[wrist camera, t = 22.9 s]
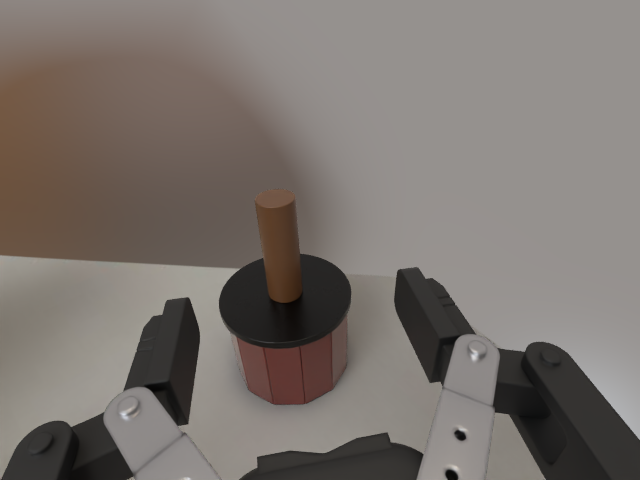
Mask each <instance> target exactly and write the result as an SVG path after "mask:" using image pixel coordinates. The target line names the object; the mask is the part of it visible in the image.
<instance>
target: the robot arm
mask: <svg viewBox="0 0 640 480" xmlns="http://www.w3.org/2000/svg"><path fill="white" fill-rule="evenodd" d="M394 303H395V309H396V312H397V315H398V317H399V319H400V321H401V323H402V325H403V327H404V329H405V331H406V334H407V336H408V338H409V340H410V342H411V344H412V346H413V348H414V350H415V352H416V355H417V357H418V359H419V361H420V363H421V365H422V367H423V369H424V371H425V373H426V376H427V378H428V380H429V382H430V383H434V382H439V381H440V382H441V384H442V386H443V387H442V391H441V394H440V398H439V401H438V405H437V408H436V412H435V416H434V419H433V423H432V426H431V430H430V434H429V437H428V441H427V444H426V448H425V451H424V454H422V453H421V452H419V451H417V450H415V449H413V448H411V447H408V446H406V445H402V444H398V443H391V442H390V439H389V435H388V432H387V433H382V434H377V435H371V436H366V437H361V438H356V439H354V440H352V441H350V442H348V443H346V444H344V445H342V446H340V447H338V448H336V449H334V450H332V451H330V452H327V453H312V452H300V451H286V452H281V453H275V454H270V455H265V456H260V457H257V467H258V468H256V469H254V470H252V471H250V472H249V473H247V474H246V475H244V476H243V477H242V478H240V479H239V480H486V473H487V465H488V458H489V451H490V444H491V437H492V429H493V422H494V415H495V412H497V413H504V414H509V415H510V417H511V419H512V420H513V422H514V424H515V426H516V427H517V429H518V431H519V433H520V435H521V436H522V438H523V440H524V442H525V443H526V445H527V447H528V449H529V451H530V452H531V454H532V456H533V458H534V459H535V461H536V463H537V465H538V466H539V468H540V470H541V472H542V474H543V475H544V477H545V479H546V480H640V440H639V439H638V438H637V436H636V435H635V434H634V433H633V432H632V430H631V429H630V428H629V427H628V426H627V424H626V423H625V422H624V421H623V419H622V418H621V417H620V416H619V415H618V413H617V412H616V411H615V410H614V409H613V407H612V406H611V405H610V404H609V403H608V401H607V400H606V399H605V398H604V396H603V395H602V394H601V393H600V392H599V391H598V390H597V388H596V387H595V386H594V384H593V383H592V382H591V381H590V380H589V378H588V377H587V376H586V375H585V374H584V372H583V371H582V370H581V369H580V368H579V366H578V365H577V364H576V363H575V362H574V360H573V359H572V358H571V357H570V355H569V354H568V353H566V352H565V351H564V350H562V349H561V348H559V347H557V346H555V345H553V344H550V343H545V342H534V343H531V344H530V345H528V347H527V348H526V351H525V352H521V351H513V350H505V349H499V348H497V347H496V346H495V345H494V344H493V343H492V342H491V341H490V340H488V339H486V338H485V337H482V336H479V335H476V333H475V332H474V331H473V329H472V328H471V326H470V325H469V323H468V322H467V320H466V319H465V317H464V316H463V315H462V313H461V312H460V310H459V309H458V307H457V306H456V305H455V303H454V301H453V300H452V298H450V295H449V294H448V293H447V291H446V290H445V288H444V287H443V286H442V285H441V284H440V283H438V282H437V281H435V280H434V279H433V278H430V279H425V277H424V276H423V274H422V273H421V271H420V270H419V268H417V267H414V268H407V269H400V270H398V272H397V277H396V287H395V297H394ZM199 344H200V332H199V326H198V323H197V320H196V317H195V314H194V310H193V307H192V304H191V301H190V299H189V298H188V297H187V298H179V299H172V300H167V301H166V303H165V307H164V311H163V314H162V315H159V316H153V317H152V318H151V319H150V321H149V322H148V323H147V324H146V326H145V327H144V328H143V332H142V335H141V338H140V342H139V344H138V347H137V352H136V353H135V357H134V360H133V363H132V366H131V369H130V372H129V375H128V379H127V382H126V385H125V388H124V391H123V392H122V393H120V394H119V395H117V396H116V397H115V398H114V399H113V400H112V401H111V402H110V403H109V405H108V406H107V408H106V410H105V412H103V413H102V414H100V415H98V416H96V417H94V418H91V419H89V420H87V421H85V422H82V423H80V424H78V425H75V426H73V427H70V425H69V424H68V423H66V422H64V421H52V422H48V423H46V424H43V425H41V426H39V427H37V428H36V429H34V430H33V431H31V432H30V433H29V434H28V435H27V436H26V437H24V438H23V440H22V441H21V442H20V443H19V444H18V446H17V447H16V449H15V451H14V453H13V455H12V457H11V459H10V462H9V464H8V466H7V468H6V470H5V473H4V475H3V477H2V479H1V480H127V479H129V478H131V477H133V476H134V478H135V480H222V479H221V478H220V476H219V475H218V474H217V473H216V471H215V470H214V469H213V467H212V466H211V465H210V463H209V462H208V461H207V459H206V458H205V457H204V455H203V454H202V453H201V452H200V450H199V449H198V448H197V446H196V445H195V444H194V442H193V441H192V440H191V438H190V437H189V436H188V435H187V434H186V433H183V432H182V431H181V430H180V429H179V427H178V426H180V425H186V424H188V421H189V414H190V407H191V400H192V393H193V386H194V379H195V372H196V365H197V358H198V351H199Z"/></svg>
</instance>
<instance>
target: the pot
mask: <svg viewBox="0 0 640 480" xmlns="http://www.w3.org/2000/svg"><path fill="white" fill-rule="evenodd" d="M230 334H231V338H232V342H233V346H234V350H235V354H236V358H237V362H238V367H239V370H240V372H241V374H242V377H243V379H244V381H245V383H246V385H247V388H248V390H250V391H251V392H252V393H254V394H256V395H258V396H260V397H261V398H263V399H265V400H267V401H268V402H270V403H272V404H305V403H308V402H310V401H312V400H314V399H316V398H318V397H320V396H321V395H323V394H325V393H327V392H329V391H331V390H332V389H333V388H334V386H335V385H336V383H337V382H338V380H339V378H340V377H341V375H342V373H343V372H344V370H345V369H346V366H347V315H346V317H345V319H344V320H343V321H342V323H341V324H340V325H339V326H338V327H337V328H336V329H335V330H334V331H332V332H331V333H330V334H328V335H327V336H325V337H323V338H321V339H319V340H318V341H315V342H313V343H310V344H307V345H303V346H300V347H294V348H286V349H270V348H263V347H258V346H255V345H251V344H249V343H246V342H244V341H242V340H241V339H239V338H237V337H236V336H235V335H233V334H232V333H231V332H230Z"/></svg>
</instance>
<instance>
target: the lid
mask: <svg viewBox="0 0 640 480" xmlns="http://www.w3.org/2000/svg"><path fill="white" fill-rule="evenodd" d="M255 205H256V211H257V218H258V225H259V232H260V239H261V246H262V252H263V258H262V259H259V260H257V261H254V262H252V263H250V264H248V265H246V266H245V267H243V268H241V269H240V270H239V271H237V272H236V273H235V274H234V275H233V276H232V277H231V278H230V279H229V280H228V281H227V282H226V284H225V286H224V287H223V289H222V292H221V295H220V298H219V309H220V314H221V317H222V320H223V322H224V324H225V326H226V327H227V329H228V330H229V331H230V332H231V333H232V334H233V335H235V336H236V337H237V338H239V339H241V340H242V341H244V342H246V343H249V344H251V345H255V346H258V347H263V348H270V349H286V348H294V347H300V346H303V345H307V344H310V343H313V342H315V341H318V340H319V339H321V338H323V337H325V336H327V335H328V334H330V333H331V332H332V331H334V330H335V329H336V328H337V327H338V326H339V325H340V324H341V323H342V321H343V320H344V319H345V317H346V315H347V314H348V311H349V309H350V305H351V287H350V284H349V281H348V279H347V277H346V276H345V274H344V273H343V272H342V271H341V270H340V269H339V268H338V267H336V266H335V265H334V264H332V263H330V262H328V261H326V260H324V259H322V258H319V257H315V256H311V255H306V254H300V250H299V238H298V224H297V212H296V199H295V195H294V193H292V192H291V191H288V190H284V189H273V190H267V191H264V192H262V193H260V194H258V195H257V197H256V198H255Z"/></svg>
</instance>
